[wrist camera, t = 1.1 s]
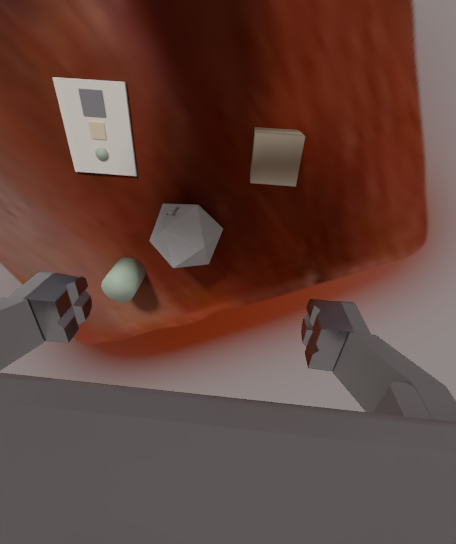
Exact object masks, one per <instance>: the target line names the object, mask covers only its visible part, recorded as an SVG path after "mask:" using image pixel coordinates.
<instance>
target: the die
mask: <svg viewBox="0 0 456 544" xmlns="http://www.w3.org/2000/svg"><path fill="white" fill-rule="evenodd" d="M222 231H223V228H222V227H221V226H220V225H219V224H218V223H217V222H216V221H215V220H214V219H213V218H212V217H211V216H210V215H209V214H208V213H207V212H206V211H205V210H204V209H203V208H202V207H201V206H200V205H196V204H162V207H161V210H160V213H159V216H158V219H157V221H156V224H155V227H154V230H153V233H152V235H151V238H150V242H151V243H152V245H153V246H154V247H155V248H156V249H157V250H158V251H159V253H160V254H161V255H162V256H163V257H164V258H165V259H166V260H167V262H168V263H169V264H170V265H171V266H172V267H173V268H179V267H188V266H197V265H206V264H209V263H210V260H211V258H212V255H213V253H214V250H215V248H216V245H217V243H218V241H219V238H220V236H221V233H222Z"/></svg>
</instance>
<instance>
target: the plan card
mask: <svg viewBox="0 0 456 544" xmlns="http://www.w3.org/2000/svg"><path fill="white" fill-rule="evenodd" d="M52 78H53V82H54V86H55V90H56V94H57V98H58V102H59V107H60V111H61V115H62V119H63V123H64V127H65V131H66V135H67V140H68V144H69V148H70V152H71V156H72V160H73V164H74V168H75V172H87V173H100V174H113V175H126V176H137V170H136V162H135V154H134V146H133V137H132V129H131V121H130V113H129V105H128V97H127V89H126V82H118V81H103V80H88V79H73V78H58V77H52Z"/></svg>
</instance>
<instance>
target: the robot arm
mask: <svg viewBox="0 0 456 544" xmlns="http://www.w3.org/2000/svg"><path fill="white" fill-rule="evenodd" d="M87 287H88V284H87V281H86V278H84V277H83V276H76V275H68V274H60V273H51V272H39V273H37V274H36V275H35V276H33V277H32V278H31V279H30V280H28V281H27V282H26V283H25V284H24V285H22V286H21V287H20V288H19V289H17V290H16V291H15V292H14V293H12V295H10V296H9V297H8V298H5V297H2V298H0V370H1V369H3V368H5V367H6V366H8V365H9V364H11V363H12V362H14V361H16V360H17V359H19V358H20V357H22V356H23V355H25V354H27V353H28V352H30V351H31V350H33V349H35V348H36V347H37V346H39V345H41V344H42V343H44V341H51V342H65V343H69V342H70V341H71V339H72V338H73V337H74V335H75V334H76V333H77V331H78V330H79V327H78V324H80V323H82V322H84V321H85V320H86V319H87V318H88V316H89V315H90V311H91V308H92V300H91V296H90V295H89V294H88V293H87V292H86V291H85V290H86V289H87ZM307 312H308V315H306V316H305V317H304V319H303V323H302V331H301V333H302V341H303V343H304V345H305V346H306V351H305V355H306V360H307V365H308V368H312V369H319V370H327V371H333V373H334V374H335V375H336V377H337V378H338V379H339V380H340V381H341V383H342V384H343V385H344V386H345V387H346V389H347V390H348V391H349V392H350V393H351V394H352V396H353V397H354V398H355V399H356V400H357V401H358V403H359V404H360V405H361V406H362V407H363V409H364V410H365V411H366V412H358V411H348V410H339V409H330V408H321V407H311V406H302V405H293V404H282V403H274V402H265V401H256V400H247V399H237V398H228V397H219V396H210V395H200V394H192V393H182V392H173V391H163V390H155V389H145V388H135V387H127V386H118V385H108V384H99V383H90V382H80V381H71V380H62V379H53V378H43V377H33V376H25V375H16V374H7V373H0V544H456V401H455V399H454V398H453V396H452V395H451V393H450V392H449V390H448V389H447V388H446V386H445V385H443V384H442V383H440V382H439V381H438V380H436V379H435V378H434V377H432V376H431V375H430V374H428V373H427V372H425V371H424V370H423V369H421V368H420V367H418V366H417V365H416V364H414V363H413V362H412V361H410V360H409V359H408V358H406V357H405V356H404V355H402V354H401V353H399V352H398V351H397V350H395V349H394V348H392V347H391V346H390V345H388V344H387V343H386V342H384V341H383V340H382V339H380V338H379V337H377V336H376V335H371V334H370V332H369V330H368V328H367V326H366V324H365V322H364V320H363V318H362V316H361V314H360V312H359V310H358V308H357V307H356V304H355V303H353V302H343V301H338V302H337V301H326V300H315V299H310V300H309V302H308V305H307Z"/></svg>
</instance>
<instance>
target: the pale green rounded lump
mask: <svg viewBox="0 0 456 544" xmlns="http://www.w3.org/2000/svg"><path fill="white" fill-rule="evenodd" d="M145 274H146V272H145V268H144V266H143V265H142V264H141V263H140V262H139V261H137V260H136V259H133V258H129V257H125V258H121V259H120V260H118V261H117V263H116V264H115V265H114V267H113V268H112V269H111V270H110V272H109V273H108V274H107V276H106V277H105V278H104V280H103V281H102V290H103V292H104V293H105V294H106V295H107V296H108V297H109V298H110V299H112V300H114V301H118V302H127V301H130V300H131V299H132V298H133V297H134V295H135V293H136V292H137V290H138V288H139V286H140V284H141V283H142V281H143V279H144V277H145Z"/></svg>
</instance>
